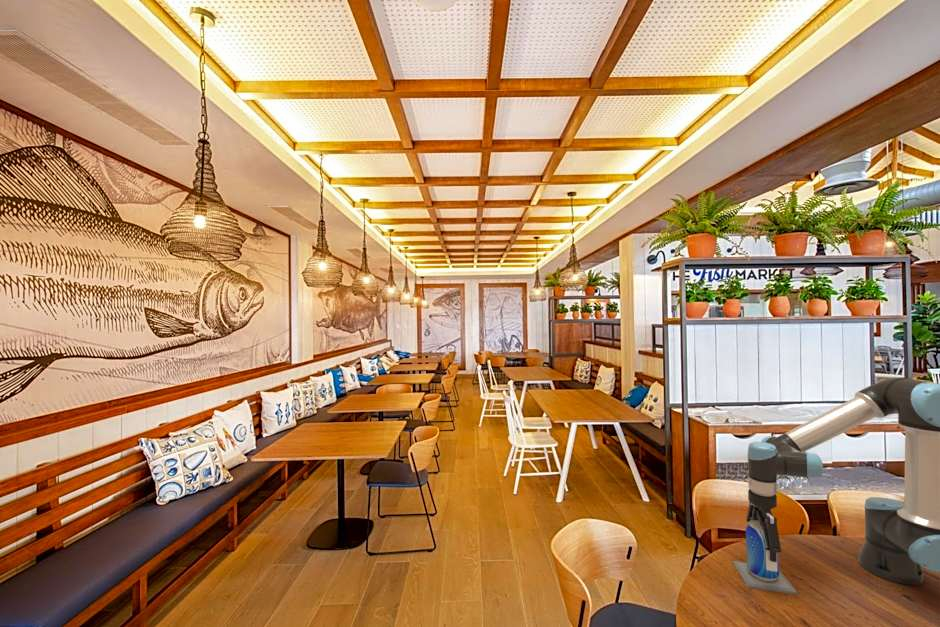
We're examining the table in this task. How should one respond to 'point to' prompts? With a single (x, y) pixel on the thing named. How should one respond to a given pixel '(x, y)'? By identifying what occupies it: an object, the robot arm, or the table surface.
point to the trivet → (752, 582)
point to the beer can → (758, 553)
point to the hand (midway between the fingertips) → (762, 558)
